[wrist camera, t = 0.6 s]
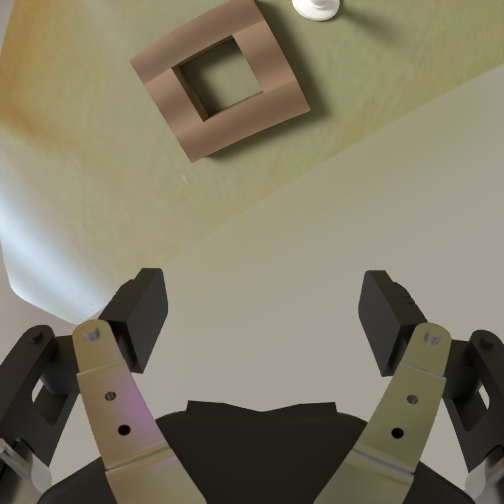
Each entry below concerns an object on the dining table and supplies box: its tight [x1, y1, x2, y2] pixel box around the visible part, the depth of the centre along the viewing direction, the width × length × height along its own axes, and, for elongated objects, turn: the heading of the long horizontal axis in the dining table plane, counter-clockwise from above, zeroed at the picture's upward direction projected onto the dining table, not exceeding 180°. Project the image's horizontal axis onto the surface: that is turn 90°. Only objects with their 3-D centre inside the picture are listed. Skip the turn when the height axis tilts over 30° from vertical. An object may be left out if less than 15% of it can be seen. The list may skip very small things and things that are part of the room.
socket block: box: [129, 0, 311, 163], centre depth 27 cm, size 14×14×3 cm
